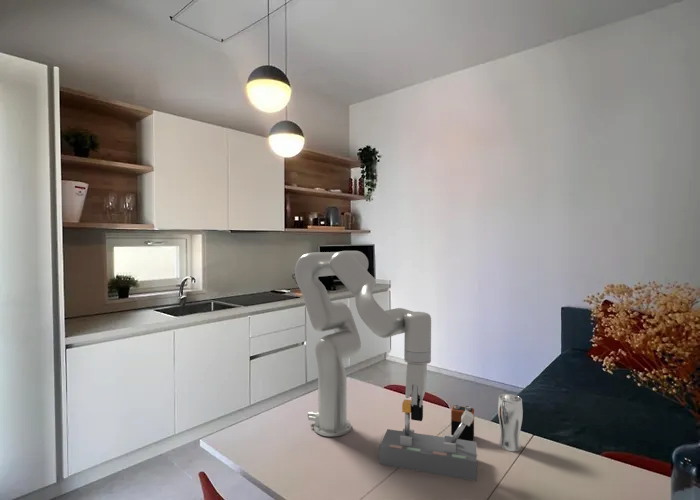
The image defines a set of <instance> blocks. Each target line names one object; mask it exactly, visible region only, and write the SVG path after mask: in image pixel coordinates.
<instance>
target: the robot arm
mask: <svg viewBox="0 0 700 500" xmlns="http://www.w3.org/2000/svg"><path fill="white" fill-rule="evenodd" d="M368 269H369V259H368V257H367V256H366V254H365V253H363V252H362V251H359V250H342V251H330V252H329V251H326V252H325V251H324V252H323V251H322V252H321V251H319V252H318V251H317V252H308V253H305V254H303V255H301V256H300V257H299V258H298V260H297V261H296V264H295V267H294V276H295V280H296V284H297V286H298V287H299V290H300V293H301V295H302V297H303V302H304V305H305V308H306V311H307V315H308V317H309V321H310V324H311V326H312V328H313V329H314V331H316V332H319V333H323V332H328V331H333V332H332V333H329V334H326V335H324V336H323V337H321V338H319V340H318V341H317V342H316V345H315V349H314V350H315V359H316V363H317V374H318V375H317V377H318V378H317V380H318V382H317V383H318V386H317V387H318V390H317V392H318V403H317V405H318V407H317V408H318V411H317V412H314V411H308V412H307V419H308V420H307V421H311V422H312V421H313V422H314V423H313V430H314V432H315V433H316V434H318V435H320V436H324V437H331V438H332V437H334V438H335V437H340V436H344V435H346V434H348V433H349V432H350V431H351V430H352V423H351V421H349V420H348V419H347V415H348V414H347V412H348V411H347V410H348V409H347V403H348V402H347V401H348V400H347V396H348V395H347V390H348V387H347V384H348V383H347V382H348V381H347V372H346V371H347V370H346V369H345V367H344V364H343V363H344V362H343V361H346V360H347V359H350V358H353V357H355V356H356V355H358V354H359V352H360V351H361V347H362V341H361V337H360V334H359V332H358V331H359V330H358V328H357V325H356V322H355V319H354V316H353V313H352V310H351V309H350V307H348V305H347V304H346V303H344V302H343V301H339V300H338V301H336V300H335V301H331V299H330V296H329V294H328V290H327V289H326V286H325V285H324V284H323V283H322V281H320V279H319V277H328V276H331V277H333V276H336V277H337V279H339V281H340V282H341V283H342V284H343V285H344V286H345V288H347V290H348V291H349V292H350V294H352V295H353V297H354V298H355V299H354V302H355V306H356V310H357V313H358V315H359V317H360V319H361V320H362V321H363V323H364V324H365V325H366V326H367V327H368V328H369V330H371V332H372V333H373V334H374V335H376V336H378V337H379V338H382V339H387V338H392V337H393V336H397V335H400V334H404V338H403V339H404V340H403V341H404V342H403V344H404V345H403V346H404V347H403V348H404V351H403V352H404V354H403V355H404V360H403V361H404V362H406V363H407V365H406V373H405V374H406V376H405V394H404V395H405V398H406V399H410V397H411V399H410V400H411V404H412V405H411V413H410V420H412V421H418V422H423V418H424V405H423V402H424V401H423V399H424V397H425V393H426V390H427V389H426V388H427V373H428V370H427V369H428V366H427V365H428V364H430V363H431V362H432V317H431V315H430V314H429V313H428V312H424V311H412V310H409V309H406V308H402V307H397V308H393V309H387V310H384V309H383V308H382V307H381V305H379V303H378V302H377V301H376V299H375V297H374V296H373V291H374V289H375V287H376V285H377V281H376V279H375V277H374V276H373V275H372V274H370V272H369V271H368Z"/></svg>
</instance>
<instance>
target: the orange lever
mask: <svg viewBox="0 0 700 500" xmlns="http://www.w3.org/2000/svg"><path fill="white" fill-rule="evenodd" d="M401 405H402V406H401V407H402V409H401V410H402V411H401V413H404V428H405V436H408V437H410V429H411V405H412V404H411V399H404V400H403V401H402V404H401Z"/></svg>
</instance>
